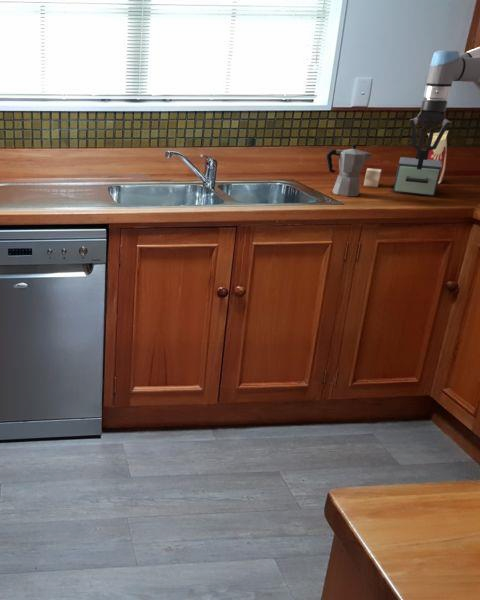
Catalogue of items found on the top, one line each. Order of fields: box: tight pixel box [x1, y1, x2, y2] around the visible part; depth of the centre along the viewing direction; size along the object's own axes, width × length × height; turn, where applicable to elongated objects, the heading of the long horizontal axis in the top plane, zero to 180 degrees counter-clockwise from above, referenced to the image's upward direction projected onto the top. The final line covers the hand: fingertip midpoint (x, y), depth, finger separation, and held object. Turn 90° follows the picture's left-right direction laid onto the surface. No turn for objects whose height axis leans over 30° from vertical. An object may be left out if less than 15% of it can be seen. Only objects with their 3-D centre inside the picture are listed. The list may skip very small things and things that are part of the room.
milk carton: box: [426, 130, 449, 184], centre depth 243 cm, size 9×9×20 cm
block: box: [363, 167, 382, 188], centre depth 236 cm, size 5×5×6 cm
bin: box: [395, 166, 439, 195], centre depth 223 cm, size 21×13×9 cm, turn 152°
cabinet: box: [392, 156, 442, 198], centre depth 227 cm, size 16×14×11 cm
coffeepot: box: [325, 143, 374, 197], centre depth 219 cm, size 15×9×18 cm, turn 76°
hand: (419, 168), depth 216 cm, fingers closed
